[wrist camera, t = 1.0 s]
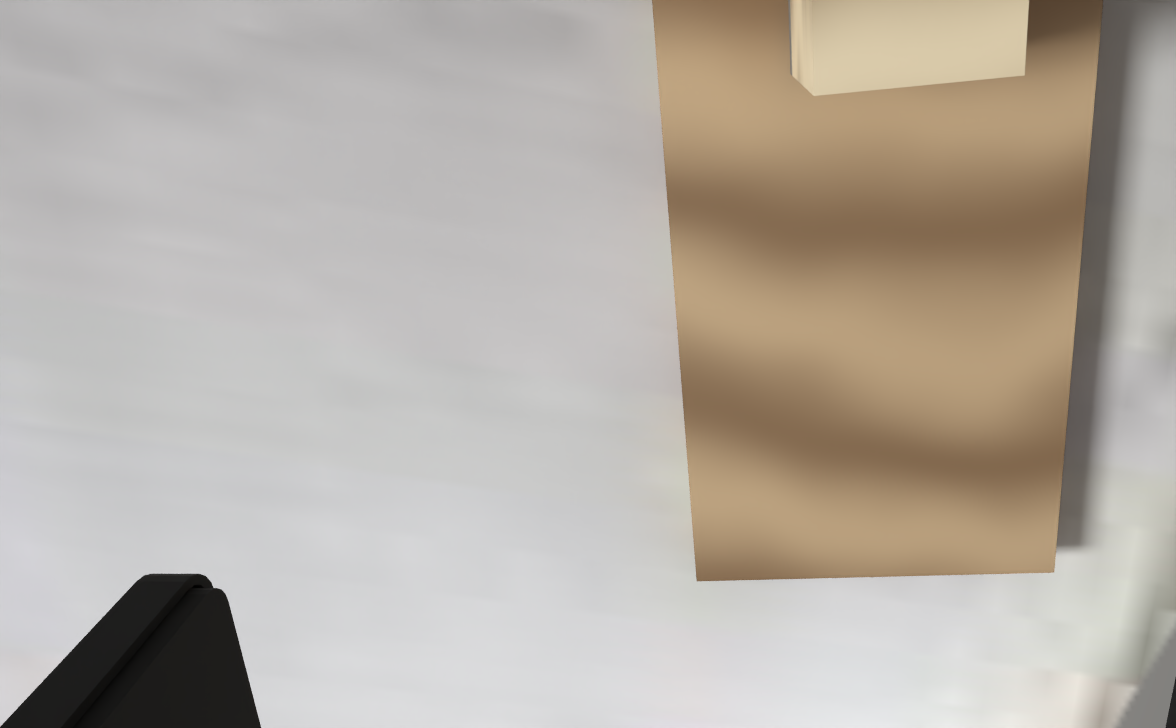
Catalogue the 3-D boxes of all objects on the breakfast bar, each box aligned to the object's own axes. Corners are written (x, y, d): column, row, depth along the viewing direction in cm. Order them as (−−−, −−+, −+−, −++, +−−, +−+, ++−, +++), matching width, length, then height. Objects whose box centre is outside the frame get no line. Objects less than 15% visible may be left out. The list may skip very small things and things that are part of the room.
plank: (634, -262, 25) (630, -276, 24) (1108, -335, 23) (1133, -356, 22) (697, 557, 35) (696, 581, 33) (1039, 547, 33) (1053, 572, 31)
